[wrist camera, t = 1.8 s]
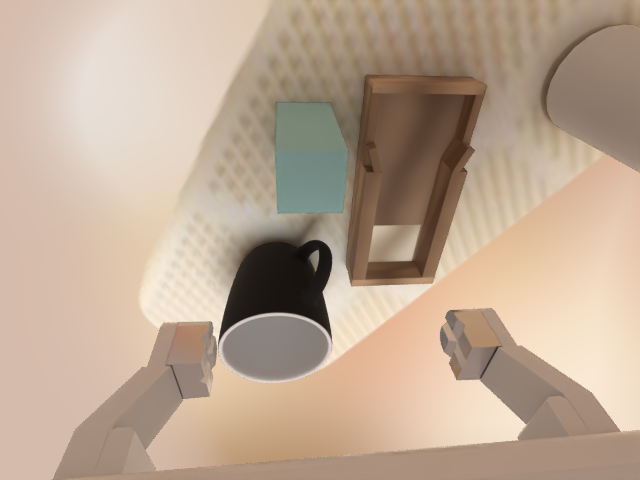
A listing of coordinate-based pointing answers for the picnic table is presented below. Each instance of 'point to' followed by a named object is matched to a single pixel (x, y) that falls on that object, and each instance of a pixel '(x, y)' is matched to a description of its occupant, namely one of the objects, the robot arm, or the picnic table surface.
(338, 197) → the block
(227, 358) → the mug
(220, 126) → the picnic table surface
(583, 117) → the can
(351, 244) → the brown wooden tray
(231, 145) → the picnic table surface
